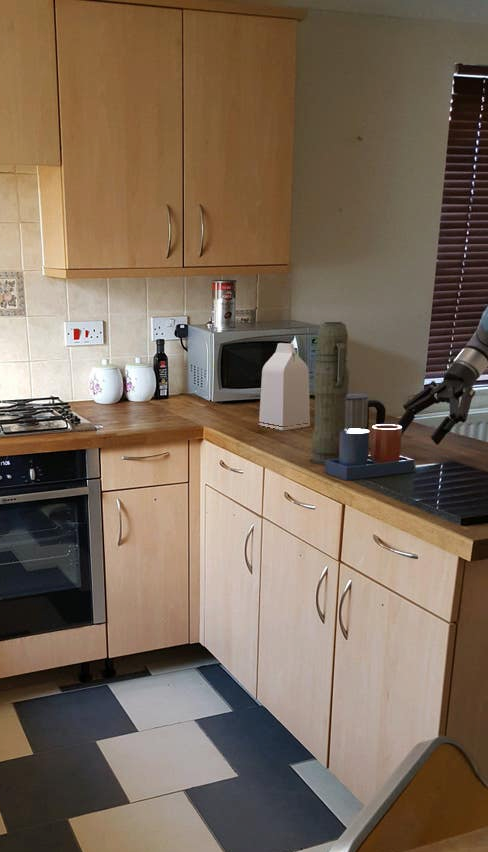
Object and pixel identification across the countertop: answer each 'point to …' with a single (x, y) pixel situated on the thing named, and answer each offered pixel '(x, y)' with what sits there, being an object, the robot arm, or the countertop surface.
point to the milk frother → (362, 411)
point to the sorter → (369, 468)
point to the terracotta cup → (386, 443)
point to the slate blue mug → (353, 447)
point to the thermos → (330, 390)
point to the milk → (285, 390)
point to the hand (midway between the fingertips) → (414, 437)
